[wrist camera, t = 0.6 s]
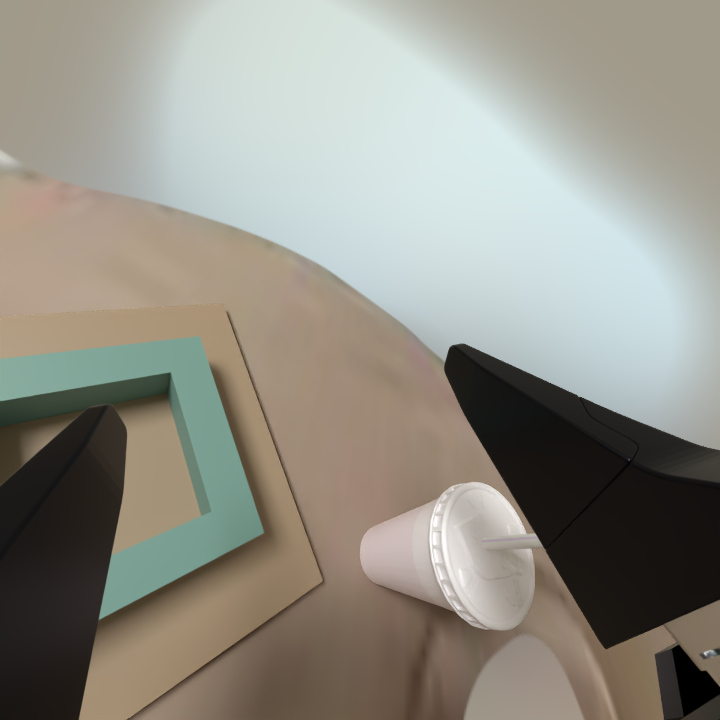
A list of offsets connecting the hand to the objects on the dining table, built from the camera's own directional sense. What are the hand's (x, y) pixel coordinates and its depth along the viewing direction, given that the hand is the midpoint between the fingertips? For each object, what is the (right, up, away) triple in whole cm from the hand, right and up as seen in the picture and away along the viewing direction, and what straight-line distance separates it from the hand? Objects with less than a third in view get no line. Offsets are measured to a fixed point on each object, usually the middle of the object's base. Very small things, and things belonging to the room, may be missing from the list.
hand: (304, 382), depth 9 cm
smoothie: (+3, -13, +14) cm, 20 cm away
